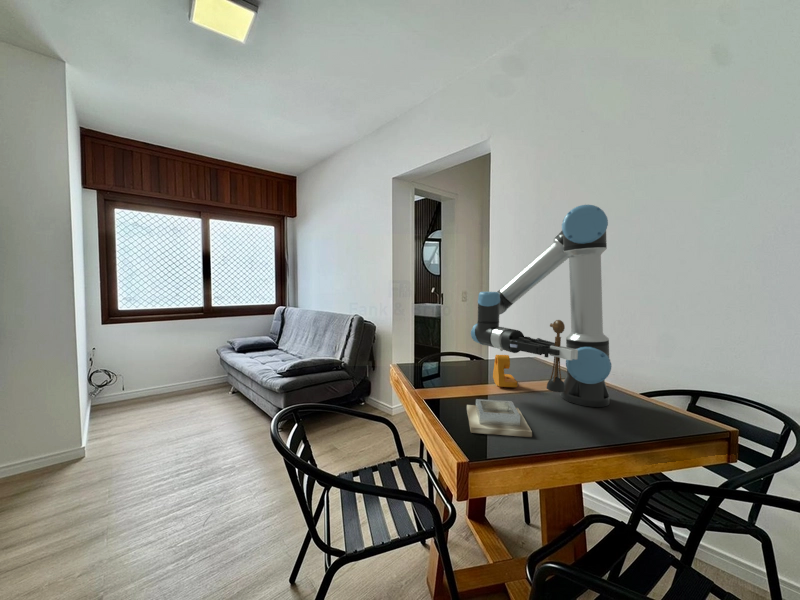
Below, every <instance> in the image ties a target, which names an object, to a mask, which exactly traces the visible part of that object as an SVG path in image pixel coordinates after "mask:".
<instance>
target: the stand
mask: <svg viewBox="0 0 800 600" xmlns="http://www.w3.org/2000/svg"><path fill="white" fill-rule="evenodd" d="M515 408H516V409H517V411H518V413H519V415H520V427H517V426H503V425H489V424H479V420H478V416H477V412H476V404H466V413H467V414H466V415H467V418H468V425H469V430H470V433H471V434H472V433H473V434H484V435H496V436H497V435H501V436H510V437H511V436H514V437H523V438H524V437H525V438H532V437H533V431H532V430H531V427H530V425H529V423H528V422H527V420H526V419H525V417H524V415H523V414H522V412H521V410H520V409H519V407H515ZM483 411H484V410H483ZM484 412H492V413H507V414H509V412H500V411H484Z"/></svg>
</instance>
